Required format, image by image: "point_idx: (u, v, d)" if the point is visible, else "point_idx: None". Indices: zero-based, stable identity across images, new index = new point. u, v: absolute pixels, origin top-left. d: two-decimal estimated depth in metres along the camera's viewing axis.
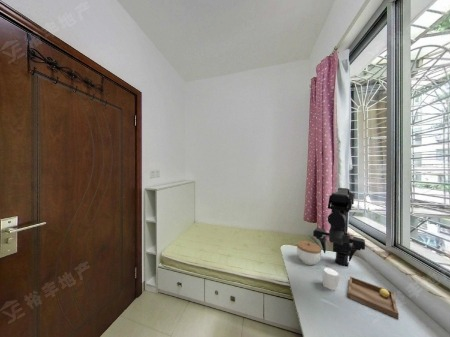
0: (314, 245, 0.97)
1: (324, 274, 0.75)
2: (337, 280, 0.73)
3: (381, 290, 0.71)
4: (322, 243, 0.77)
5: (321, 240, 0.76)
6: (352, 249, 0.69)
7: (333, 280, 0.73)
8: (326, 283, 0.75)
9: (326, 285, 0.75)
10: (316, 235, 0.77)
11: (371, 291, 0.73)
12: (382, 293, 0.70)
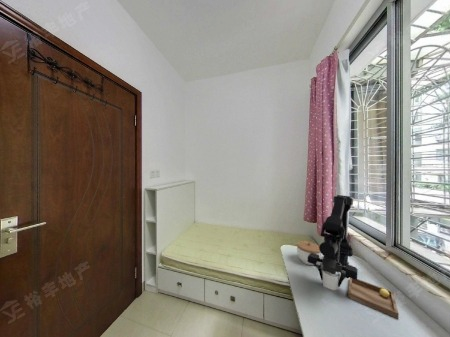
0: (314, 245, 0.97)
1: (324, 274, 0.75)
2: (337, 280, 0.73)
3: (381, 290, 0.71)
4: (319, 270, 0.77)
5: (318, 267, 0.77)
6: (341, 276, 0.72)
7: (333, 280, 0.73)
8: (326, 283, 0.75)
9: (326, 285, 0.75)
10: (310, 261, 0.79)
11: (371, 291, 0.73)
12: (382, 293, 0.70)
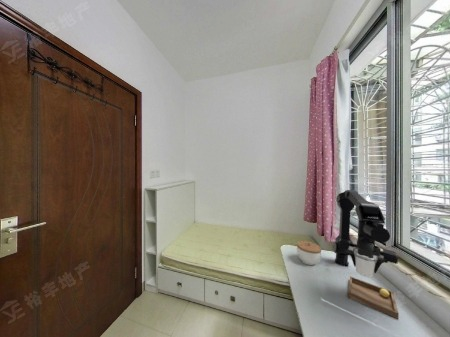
0: (314, 245, 0.97)
1: (358, 259, 0.70)
2: (373, 265, 0.68)
3: (381, 290, 0.71)
4: (352, 256, 0.73)
5: (351, 253, 0.72)
6: (378, 261, 0.67)
7: (369, 265, 0.68)
8: (360, 269, 0.70)
9: (360, 271, 0.70)
10: (342, 246, 0.74)
11: (371, 291, 0.73)
12: (382, 293, 0.70)
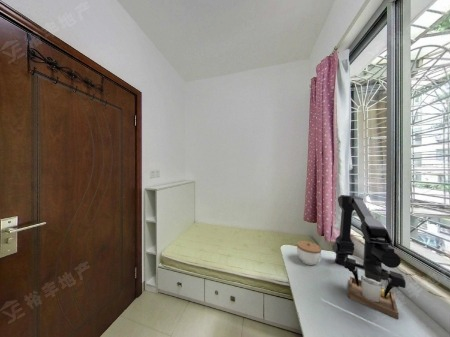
0: (314, 245, 0.97)
1: (364, 283, 0.69)
2: (380, 290, 0.67)
3: (381, 290, 0.71)
4: (355, 276, 0.72)
5: (354, 273, 0.72)
6: (389, 285, 0.65)
7: (376, 290, 0.67)
8: (367, 293, 0.69)
9: (367, 295, 0.69)
10: (348, 267, 0.73)
11: None
12: (382, 293, 0.70)
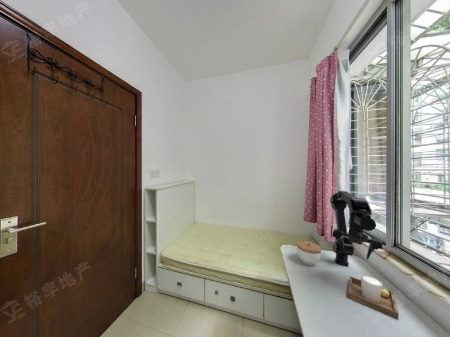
0: (314, 245, 0.97)
1: (364, 283, 0.69)
2: (380, 290, 0.67)
3: (381, 290, 0.71)
4: (341, 243, 0.84)
5: (340, 240, 0.83)
6: (370, 248, 0.76)
7: (376, 290, 0.67)
8: (367, 293, 0.69)
9: (367, 295, 0.69)
10: (335, 236, 0.84)
11: None
12: (382, 293, 0.70)
